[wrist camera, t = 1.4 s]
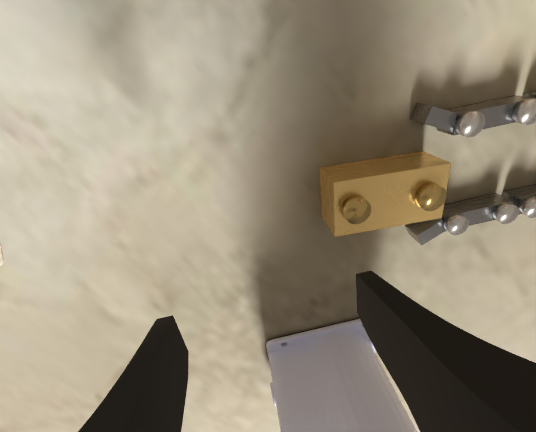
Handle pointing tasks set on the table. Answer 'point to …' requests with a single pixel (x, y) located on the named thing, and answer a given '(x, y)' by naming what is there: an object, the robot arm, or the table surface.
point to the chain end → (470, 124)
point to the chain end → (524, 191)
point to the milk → (1, 257)
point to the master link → (383, 192)
